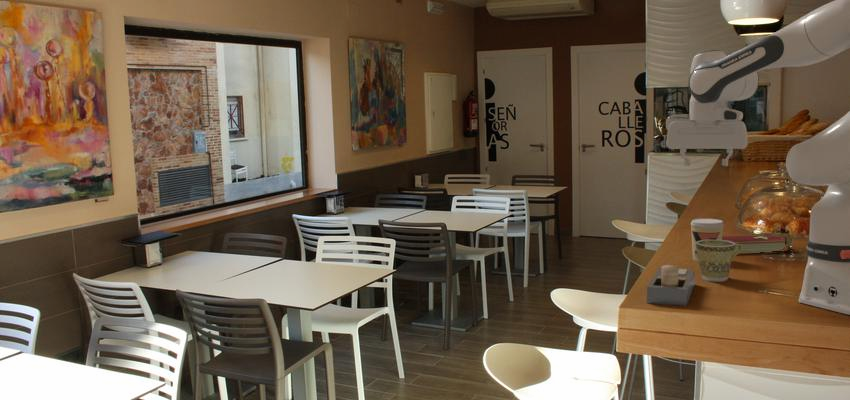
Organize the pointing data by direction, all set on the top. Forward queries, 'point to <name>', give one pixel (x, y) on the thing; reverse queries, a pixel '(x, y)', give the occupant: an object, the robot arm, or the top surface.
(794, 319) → the top surface
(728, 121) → the robot arm
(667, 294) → the grey slotted box
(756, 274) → the top surface
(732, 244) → the ceramic cup
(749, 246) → the hardcover book
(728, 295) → the top surface
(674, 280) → the peg
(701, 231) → the coffee cup
